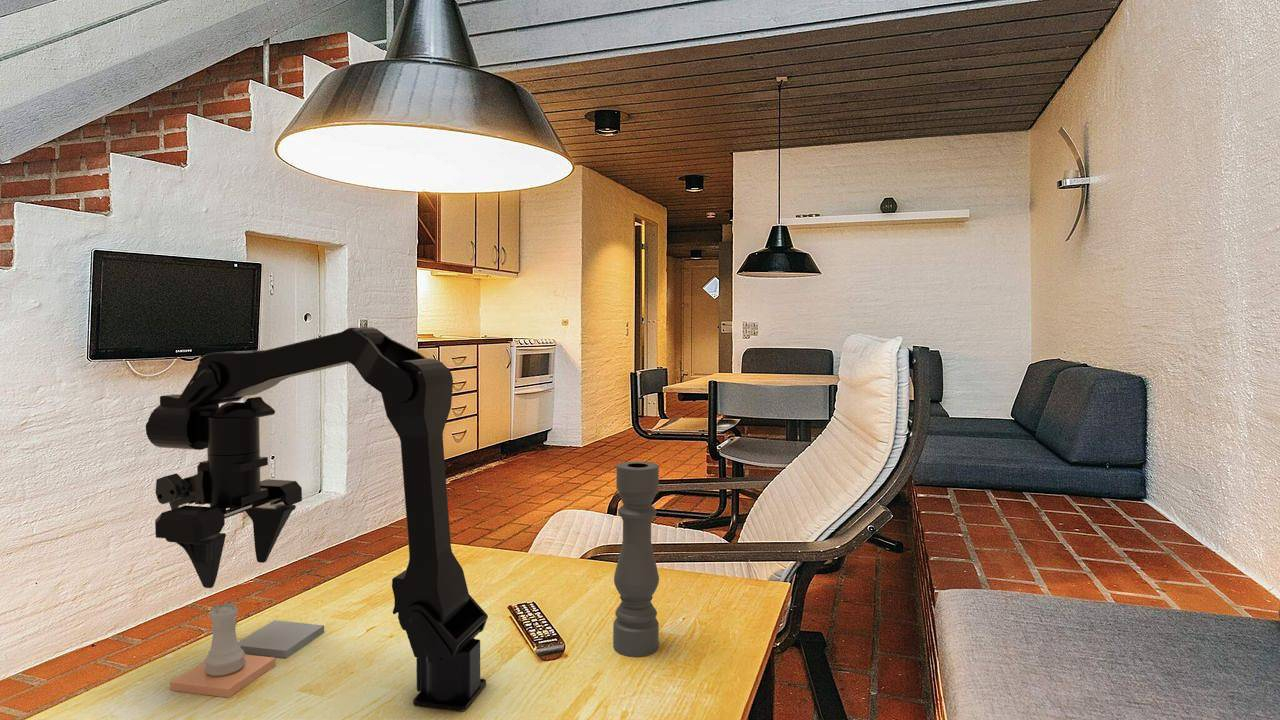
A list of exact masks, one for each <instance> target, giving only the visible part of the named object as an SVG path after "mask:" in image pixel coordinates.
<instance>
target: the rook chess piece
mask: <svg viewBox="0 0 1280 720" xmlns="http://www.w3.org/2000/svg"><path fill="white" fill-rule="evenodd" d="M239 612H240V610H239V609H238V608H237V607H236V603H235V602H234V601H231V602H230V603H229V601H224V602H223V605H222V606H221V603H219V602H218V603H216V604H215V605H212V606H211V611H210V613H209V614H208V615H207V616H208V618H209V619H210V620H211V621H212V625H211V627H210V630H212V640H211V647H210V649H209V651H208V653H207V654H208V655H207V656H206V657H205V659H204V661H205V664H206V667H205V669H204V671H205V672H206V673H207V674H208V675H210V676H213V677H220V676H226V675H230V674H233V673H235V672H237V671H239V670H240V669H241V668H242V667H243V665H244V664H245V662H246V661H245V659H244V658H243V657H244V655H245V653H244V651H243V649H241V648H240V647H241V646H240V645H239V644H238V637H237V632H236V626H237V625H238V622H237V621H236V617H237V615H238V614H239Z"/></svg>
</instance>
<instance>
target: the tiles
mask: <svg viewBox="0 0 1280 720" xmlns="http://www.w3.org/2000/svg"><path fill="white" fill-rule="evenodd" d="M324 633H325V625H323V624H317V623H314V624H313V623H305V622H295V621H284V620H276V619H275V620H272V621H270V622H268V623H267V624H265V625H264V626H262V627H260V628H258V629H257V630H255V631H253V632H252V633H250V634H248V635H247V636H245V637H243V638H242V639H239V640H237V642H238V644H239V645H240V646H241V647H240V648H241V649H243V651H244V653H245V655H244V657H243V658H244V659H245V661H246V662H245V664H244V665H243V667H242V668H241V669H240V670H239V671H237V672H235V673H233V674H230V675H226V676H220V677H213V676H210V675H208V674H207V673H206V672H205V671H204V669H205V667H206V664H205V660H204V661H203V662H201V663H200V664H198V665H196V666H195V667H193V668H191V669H189V670H188V671H186V672H184V673H183V674H181V675H179V676H178V677H176V678H174V679H172V680H170V681H169V690H170V691H173V692H180V691H181V692H180V693H187V694H189V693H190V694H196V695H204V696H206V695H207V696H213V697H220V698H230V697H231V696H233V695H235V694H236V693H238V692H239V691H241V690H242V689H243V688H245V687H246V686H248V685H249V684H251V683H252V682H253V681H255V680H256V679H258V678H260V677H261V676H263V675H264V674H266V672H268V671H270V670H271V669H272V668H274V667H276V666H277V665H276V663H277V661H276V658H280V659H287V658H289V657H290V656H292V655H294V654H295V653H296V652H297V651H300V649H302V648H303V647H305V646H306V645H307V644H309V643H311V642H312V641H314V640H315V639H316V638H318V637H319V636H321V635H322V634H324Z"/></svg>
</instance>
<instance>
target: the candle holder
mask: <svg viewBox="0 0 1280 720" xmlns="http://www.w3.org/2000/svg"><path fill="white" fill-rule="evenodd" d="M659 467H660V466H659V465H658V464H657V463H654V462H650V461H641V460H640V461H623V462H620V463H618V464H616V478H615V479H616V482H615V484H616V487H615V488H616V489H617V491H618V493H617V494H618V496H619V497H620V499H621V503H622V505H621V506H620V507H619V508H618V509H617V514H618V516H619V517H620V518H621V519H622V543H621V546H620V551H619V555H618V560H617V564H616V567H615V571H614V576H613V582H614V586H615V589H616V590H617V593H618V594H619V595H620V596H619V599H620V601H621V602H620V603H619V605H618V606H617V608H616V610H615V613H614V614H615V619H614V620H613V625H612V626H613V627H612V628H613V629H612V633H613V634H612V638H613V639H612V647H613V650H614V652H616V653H618V654H620V655H622V656H625V657H633V658H641V657H647V656H650V655H653V654H654V653H656V652H657V651H658V650H659V639H660V638H659V635H660V634H659V626H660V625H659V624H660V623H659V622H658V621H659V620H658V619H657V618H656V617H657V615H658V611H657V609H656V608H655V607H654V605H653V603H652V600H653V598H654V597H653V595H654V594H655V592H656V590H657V588H658V586H659V583H660V575H659V571H658V567H657V561H656V557H655V553H654V549H653V544H652V520H653V518H655V516H656V515H657V509H656V508H655V507H654V506H653V505H652V503H653V502H654V499H655V497H656V495H657V491H658V490H659V473H660V471H659V470H660V469H659Z"/></svg>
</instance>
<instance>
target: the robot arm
mask: <svg viewBox="0 0 1280 720" xmlns="http://www.w3.org/2000/svg"><path fill="white" fill-rule="evenodd" d="M198 360H199V363H198V364H197V368H196V370H195V372H194V374H193V375H192V377H191V379H190V380H189V381H188V382H187V384H186V386H185V388H184V389H183V391H182V393H181V394H176V393H175V394H167V395H164V394H163V395H161V396H160V397H159V405H158V406H156V407H155V408H154V409H153V410H152V412H151V413H150V415H149V417H148V420H147V422H146V424H145V432H146V437H147V438H148V440H149V442H150V443H151V444H152V445H153V446H155V447H158V448H162V449H164V448H165V449H181V450H196V451H197V450H198V451H202V450H206V449H207V453H206V455H207V457H206V458H207V460H203V461H200V462H199V461H198V462H199V463H198V465H197V467H196V468H197V473H196V474H194V475H192V476H189V477H185V478H182V477H181V476H180V475H179V474H178V473H173V474H169V475H166V476H165V475H164V476H162V477H159V478H156V480H155V496H156V499H157V501H158V503H159V504H161V505H165V504H169V506H170V510H166V511H163V512H161V513H160V514H159V516H158V517H156V519H155V520H154V523H155V524H154V525H155V526H154V529H155V530H154V531H155V538H156V539H165V541H166V542H168V543H176V544H177V545H178V546H180V547H182V549H184V551H185V552H186V554H187V556H188V557H189V559H190V562H191V563H192V566H193V567H194V569H195V572H196V574H197V576H198V579H199V581H200V582H201V585H202V587H203V588H206V589H212V588H214V586H215V583H216V580H217V578H218V573H219V568H220V562H221V561H222V560H221V559H222V554H223V551H224V547H225V546H224V545H225V541H226V537H227V534H226V533H223V532H222V530H223V528H224V527H225V524H226V523H225V522H226V521H225V519H227V518H230V517H233V516H235V515H238V514H241V513H244V512H245V513H246V514H247V516H248V517H249V518H250V520H251V521H252V528H253V530H252V531H253V541H254V550H255V557H256V562H257V563H261V564H262V563H266V562H267V561H268V559H269V556H270V555H271V552H272V550H273V548H274V546H275V544H276V542H277V540H278V537H280V534H281V532H282V530H283V528H284V526H285V525H286V523H287V521H288V520H289V517H290V516H291V514H292V512H293V511H294V510H296V507H297V506H296V504H298V503H301V502H302V501H303V487H302V486H301V485H300V484H299V483H298V482H297V481H296V480H287V479H286V480H285V479H269V478H268V479H264V480H261V467H265V466H268V465H269V461H268V459H269V458H268V456H261V450H260V447H261V446H260V442H261V441H260V435H261V434H260V418H263V417H268V416H274V415H275V414H276V410H275V409H274V408H273V407H272V406H271V405H269V404H268V403H267V402H265V400H263V398H262V396H255V397H249V396H254V395H257V394H260V393H262V392H264V391H267V390H269V389H271V388H273V387H275V386H277V385H278V384H279V383H280V382H283V381H285V380H286V379H290V378H292V377H297V376H301V375H305V374H309V373H314V372H317V371H318V372H319V371H322V370H327V369H331V368H334V367H340V366H344V365H349V364H351V365H352V366H353V367H355V369H356V370H357V372H358V373H359V375H360V376H361V378H362V379H363V380H364V382H366V383H367V384H368V385H370V386H371V387H372V388H374V389H375V390H376V391H378V392H379V393H380V394H381V395H380V396H381V398H382V402H383V406H384V411H385V415H386V417H387V419H388V421H389V422H390V424H391V426H392V427H393V429H394V430H395V433H396V434H397V435H398V438H399V442H400V454H401V455H400V456H401V466H402V479H403V481H402V482H403V490H404V491H403V492H404V494H403V495H404V502H405V503H404V504H405V505H404V507H405V517H406V530H407V531H406V532H407V533H406V534H407V543H408V544H407V545H408V562H407V563H408V564H407V566H406V569H405V570H404V571H402V572H401V573H399V574H397V575H396V576H395V577H392V579H391V588H392V594H393V599H394V607H393V610H392V615H395V614H397V619H398V622H399V625H400V627H401V629H402V630H403V631H405V633H406V635H407V639H408V641H409V644H410V648H411V650H412V653H413V656H414V658H416V663H415V664H416V672H415V673H416V691H417V692H419V693H418V694H416V696H415V697H414V698H413V699H412V701H413V702H412V703H413V705H415V706H422V707H431V708H438V709H439V708H440V709H446V710H448V709H449V710H456V711H464V710H466V709H467V708H468V707H469V705H471V703H472V702H473V701H474V700H475V698H476V697H477V696H478V695H479V693H480V692H481V691H482V690H483V689H484V688H485V686H487V680H486V678H481V639H478V638H477V639H476V638H475V637H477V636H478V635H479V633H482V632H483V631H484V629H485V626H486V624H487V621H488V614H487V613H486V611H485V610H484V609H483V608H482V607H481V606H480V604H479V603H478V602H476V600H475V599H474V597H472V596H471V595H470V593H469V589H468V585H467V581H466V576H465V573H464V569H463V567H462V565H461V564H460V562H459V561H458V560H457V558H456V556H455V555H454V553H453V551H452V544H451V543H452V541H451V529H450V519H449V518H450V517H449V503H448V491H447V477H446V462H445V451H444V439H443V438H444V429H445V428H446V424H447V421H448V418H449V415H450V412H451V409H452V399H453V387H454V379H453V373H452V372H451V369H450V368H449V367H447V366H446V365H445V364H444V363H443V362H442V361H439V360H437V359H436V358H427V357H425V356H424V355H422V354H421V353H420V352H418V351H417V350H414V349H413V348H410V347H408V346H406V345H404V344H402V343H400V342H398V341H396V340H394V339H392V338H390V337H389V336H388V335H386V334H385V333H383V332H382V331H380V330H379V329H377V328H376V327H372V326H371V327H368V326H367V327H349V328H346V329H344V330H343V331H340V332H335V333H332V334H328V335H323V336H320V337H314V338H312V339H308V340H303V341H299V342H295V343H290V344H287V345H282V346H279V347H274V348H270V349H263V350H262V349H261V350H260V349H259V350H241V351H240V350H237V351H221V352H220V351H219V352H210V353H206V354H204V355H203V356H201V357H200V359H198ZM245 397H248V398H246V400H244V402H240V401H241V400H242V399H243V398H245ZM220 404H222V405H220ZM186 504H188V505H186ZM192 504H194V505H192ZM200 505H201V506H200ZM202 505H203V506H202ZM204 505H209V506H204Z"/></svg>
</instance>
